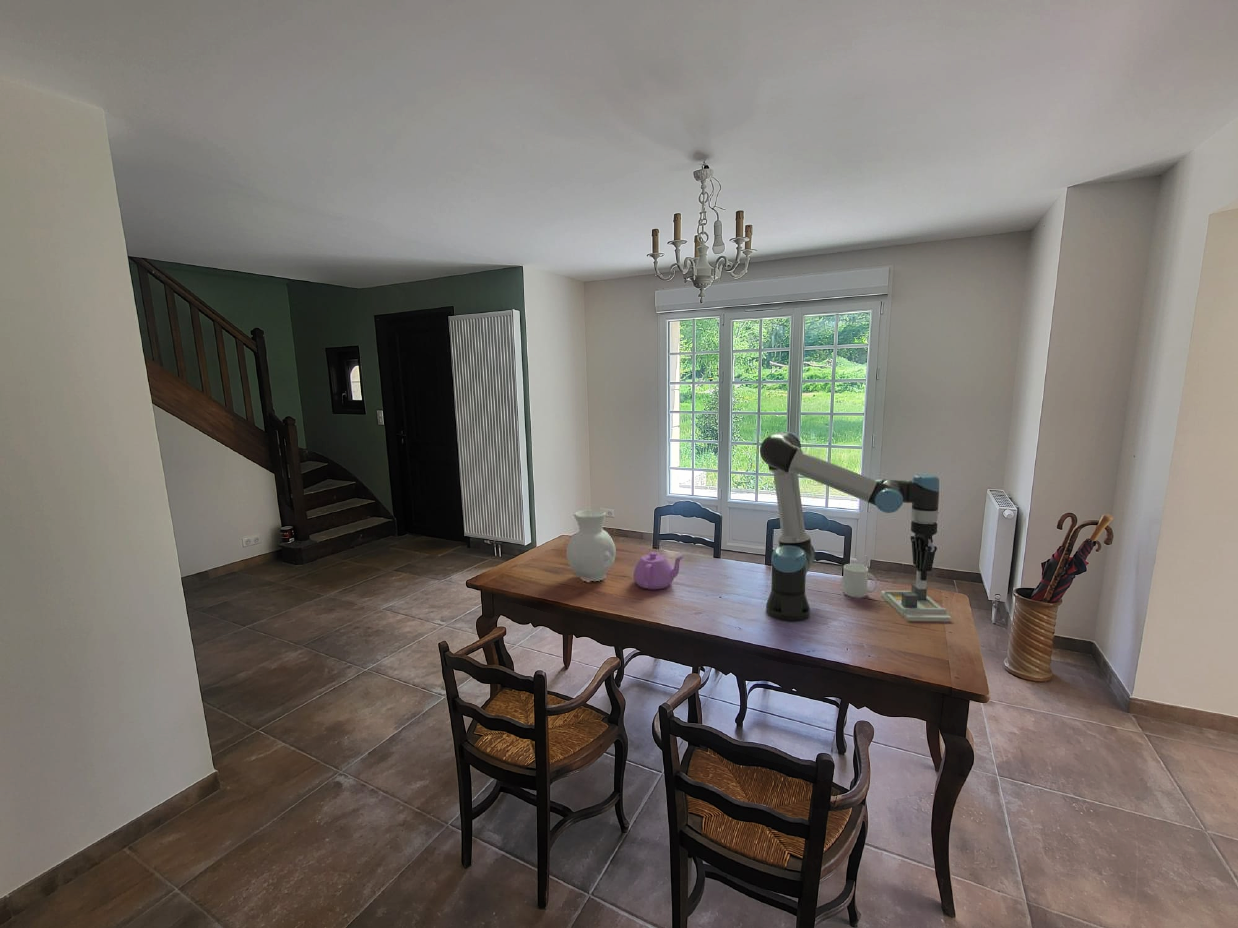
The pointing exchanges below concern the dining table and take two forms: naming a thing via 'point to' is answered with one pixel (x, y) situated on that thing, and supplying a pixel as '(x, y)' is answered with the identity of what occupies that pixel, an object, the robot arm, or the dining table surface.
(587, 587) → the dining table surface
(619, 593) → the dining table surface
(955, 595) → the dining table surface
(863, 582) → the mug
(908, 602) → the tab
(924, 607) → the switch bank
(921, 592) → the tab
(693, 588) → the dining table surface
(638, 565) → the teapot
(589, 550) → the vase
